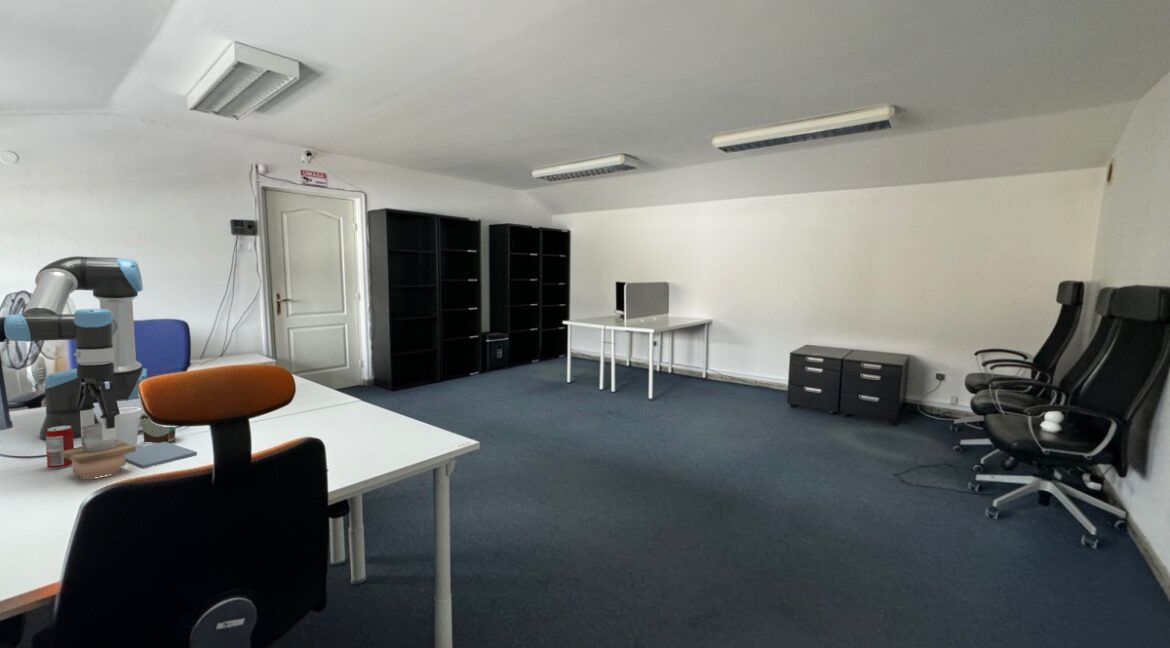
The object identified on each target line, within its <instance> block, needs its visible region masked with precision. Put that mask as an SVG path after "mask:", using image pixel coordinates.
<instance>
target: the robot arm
mask: <svg viewBox="0 0 1170 648" xmlns="http://www.w3.org/2000/svg"><path fill="white" fill-rule="evenodd" d="M34 282H35V283H34V284H35V285H36V287H35V288H34V290H33V293H32V295H31V296H30V298H29V300H28V302H27V304H26V307H25V308H24V310H23V312H22V313H18V314H9V315H7V316H6V317H5V318H4V322H3V323H4V325H3V328H4V335H5V337H6V339H8V340H9V341H11V342H39V341H40V342H42V341H43V342H44V341H64V340H65V341H71V340H72V341H73V340H75V351H76V352H74V353H73V356H74V357H76V363H78V364H77V365H76V368H71V369H70V368H69V369H64V370H60V371H55V372H52V373H50V374H48V375H47V376H45V377H44V387H43V389H44V394H45V395H44V400H45V418H44V420H43V423H42V425H41V428H40V430H39V439H41V440H45V441H46V432H47V429H49V428H52V427H58V426H71V428H72V430H73V439H75V438H79V437H80V438H81V427H82V426H87V425H93V424H99V423H102V440H103V441H105V440H110V439H115V438H116V418H115V416H116V415H119V414H120V412H119V408H120V407H119V406H118V405H119V404H118V402H124V401H125V402H128V401H132V400H139V396H138V392H137V385H138V382H139V381H141V380H143V379H146V380H147V376H148V375H147V374H148V373H147V372H148V369H147V368H144V367H142V366H143V365H142V363H141V362H140V361H138V360H137V358H136V357H137V356H136V339H135V323H134V321H135V320H134V307H133V306H134V305H133V300H134V299H135V298H137V297H138V295H139V294H138V293H139V292H142V291H143V288H144V287H143V286H144V285H143V280H142V276H141V271H140V268H139V264H138V263H137V261H136V260H133V259H131V258H121V257H105V256H104V257H101V256H98V257H96V256H79V255H78V256H69V257H64V258H60V259H58V260H55V261H52V262H50V263H49V264H46V265H45V266H43V268H41V269H40V270H39V271H38V272H37V274H36V275H35V281H34ZM75 291H92V296H93V297H94V298H96V299H97V300H99V308H81V309H76V310H75V311H74V313H68V314H67V313H64V310H65V307H66V305H67V301H69V300H68V299H69V297H70V295H71V294H72V293H73V292H75ZM63 313H64V314H63ZM94 404H98V406H99V408H100V411H101V415H100V416H99V418H100V419H101V422H100V421H99V419H98V417H97V415H96V413H95V409H96V406H95V405H94ZM102 414H103V415H102Z"/></svg>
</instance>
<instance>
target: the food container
mask: <svg viewBox="0 0 1170 648" xmlns="http://www.w3.org/2000/svg"><path fill="white" fill-rule="evenodd" d="M145 413H146V412H143V413H141V416H140V421H141V427H142V429H141V430H142V436H143V443H145V442H152V443H151V444H157V443H161V442H168V443H171V444H174V442H175V441H176V430H177V429H176V428H173V427H163V426H159V425H156V424H154V423H152V422H151V421H150V420H149V419H148V417H147V416H146V415H145Z"/></svg>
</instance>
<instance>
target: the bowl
mask: <svg viewBox="0 0 1170 648" xmlns="http://www.w3.org/2000/svg"><path fill="white" fill-rule="evenodd" d="M126 464H127V462H126V454H123V455H118V456H114V457H109V458H105V459H101V460H96V461H92V462H87V463H83V464H79V463H76V462H74V461H72V465H71V467H72V474H74V475H80V477H81V478H85V479H84V480H88V479H87V478H95V477H100V476H105V475H109V474H113V475H115V474H114V473H116V474H118V473H119V472H120V468H121V467H123V466H125V465H126ZM117 472H118V473H117ZM81 478H80V479H81Z"/></svg>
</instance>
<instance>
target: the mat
mask: <svg viewBox="0 0 1170 648" xmlns="http://www.w3.org/2000/svg"><path fill="white" fill-rule="evenodd" d="M197 453H198V452H197V451H195V450H192V449H189V448H187V447H183V446H179V445H177V444H175V443H168V442H161V443H151V444H148V445H143V446H139V447H136V452H131V453H127V454H126V463H128V464H130V465H133V466H136V467H139V468H140V469H147V468H150V467H149V466H151V467H153V466H152V465H155V466H158V465H157V464H159V465H162V463H163V464H166V463H170V462H171V463H172V462H174V461H178V460H181V459H186V458H190V457H194V456H197ZM146 467H147V468H146Z"/></svg>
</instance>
